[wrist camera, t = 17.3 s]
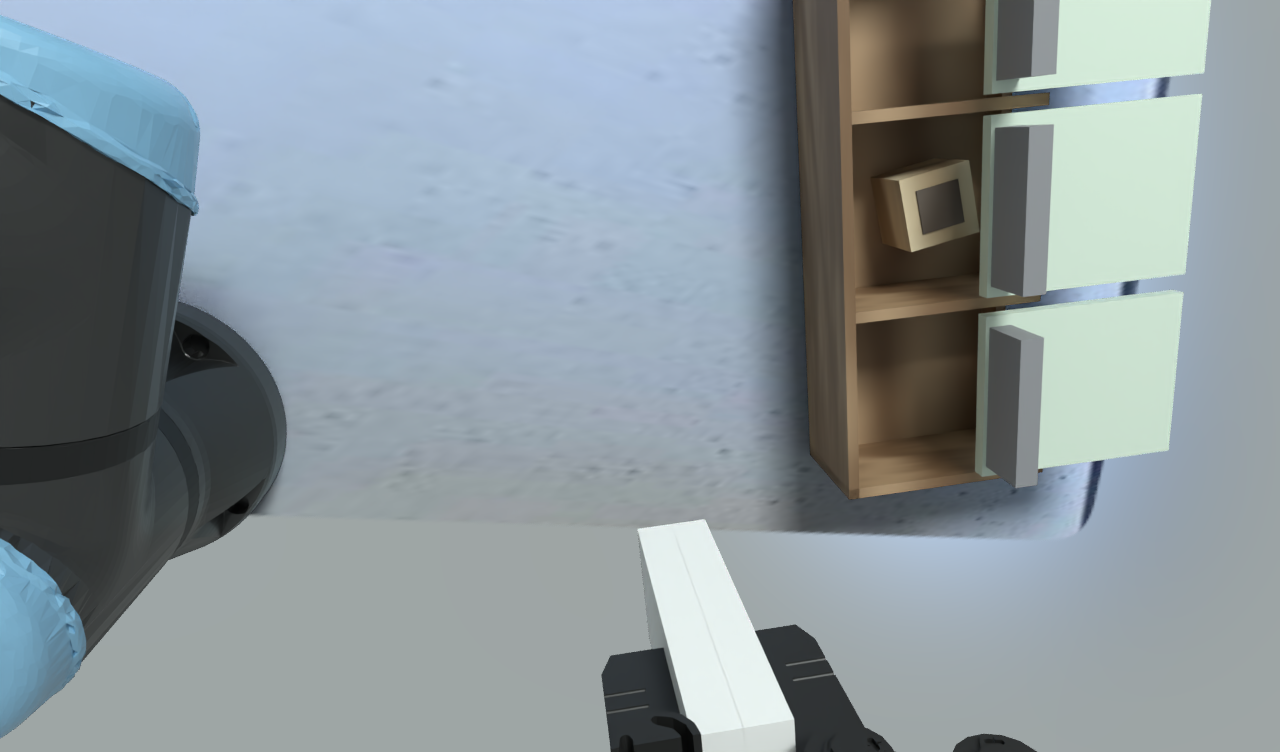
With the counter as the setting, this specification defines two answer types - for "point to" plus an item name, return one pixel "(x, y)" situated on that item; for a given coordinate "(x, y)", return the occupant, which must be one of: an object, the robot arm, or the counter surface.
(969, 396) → the box
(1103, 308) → the lid
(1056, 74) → the lid
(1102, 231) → the lid
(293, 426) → the counter surface
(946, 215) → the letter cube
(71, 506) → the robot arm
